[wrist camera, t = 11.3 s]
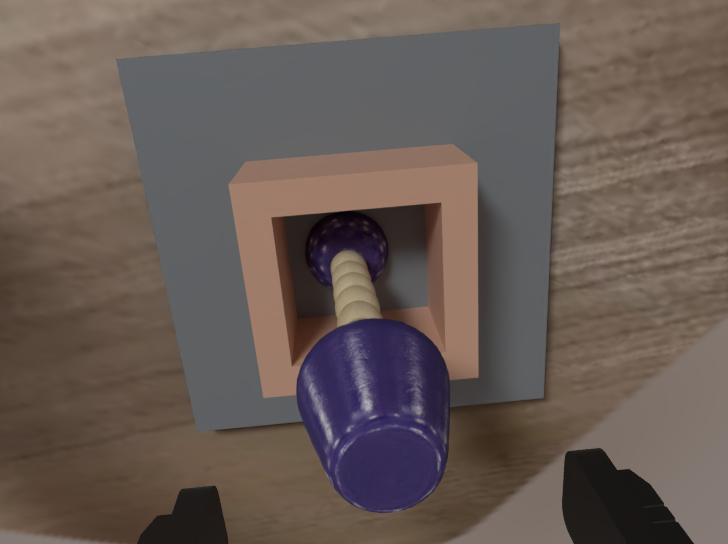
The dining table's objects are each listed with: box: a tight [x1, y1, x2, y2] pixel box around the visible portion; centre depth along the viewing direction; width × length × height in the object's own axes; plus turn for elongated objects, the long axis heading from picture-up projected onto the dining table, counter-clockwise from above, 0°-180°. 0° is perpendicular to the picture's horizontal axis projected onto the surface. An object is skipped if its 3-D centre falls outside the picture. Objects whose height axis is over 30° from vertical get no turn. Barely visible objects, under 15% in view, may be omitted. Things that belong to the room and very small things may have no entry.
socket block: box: [116, 23, 560, 432], centre depth 28 cm, size 20×20×6 cm
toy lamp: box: [296, 211, 450, 513], centre depth 22 cm, size 5×5×17 cm
